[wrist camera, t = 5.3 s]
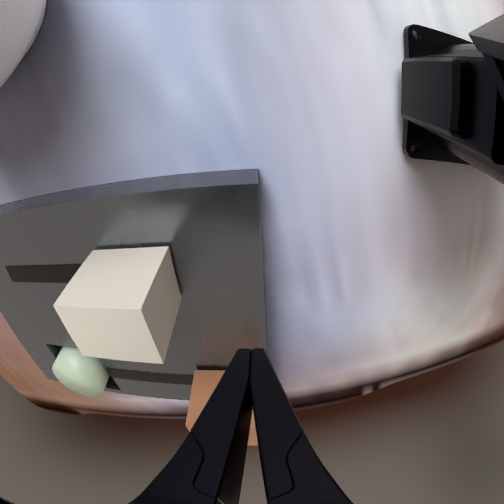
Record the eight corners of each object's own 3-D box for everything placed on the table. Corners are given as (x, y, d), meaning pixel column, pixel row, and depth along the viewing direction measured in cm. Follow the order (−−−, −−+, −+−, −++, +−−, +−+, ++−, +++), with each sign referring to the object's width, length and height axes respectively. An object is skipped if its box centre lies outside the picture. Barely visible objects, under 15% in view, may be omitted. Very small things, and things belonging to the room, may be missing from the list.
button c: (101, 336, 19) (87, 368, 16) (122, 371, 21) (112, 401, 19) (57, 331, 19) (42, 359, 17) (80, 366, 22) (69, 392, 19)
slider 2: (258, 370, 17) (258, 427, 14) (260, 394, 19) (260, 445, 16) (194, 369, 18) (185, 425, 14) (203, 393, 19) (196, 443, 16)
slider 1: (168, 246, 13) (140, 309, 9) (181, 298, 14) (163, 363, 11) (92, 250, 13) (53, 305, 10) (111, 298, 14) (82, 355, 11)
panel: (258, 169, 13) (258, 183, 11) (267, 379, 22) (268, 401, 20) (-24, 211, 14) (-42, 225, 12) (55, 362, 22) (48, 379, 21)
